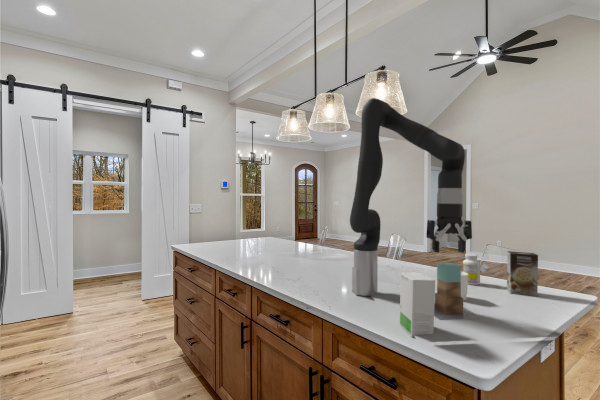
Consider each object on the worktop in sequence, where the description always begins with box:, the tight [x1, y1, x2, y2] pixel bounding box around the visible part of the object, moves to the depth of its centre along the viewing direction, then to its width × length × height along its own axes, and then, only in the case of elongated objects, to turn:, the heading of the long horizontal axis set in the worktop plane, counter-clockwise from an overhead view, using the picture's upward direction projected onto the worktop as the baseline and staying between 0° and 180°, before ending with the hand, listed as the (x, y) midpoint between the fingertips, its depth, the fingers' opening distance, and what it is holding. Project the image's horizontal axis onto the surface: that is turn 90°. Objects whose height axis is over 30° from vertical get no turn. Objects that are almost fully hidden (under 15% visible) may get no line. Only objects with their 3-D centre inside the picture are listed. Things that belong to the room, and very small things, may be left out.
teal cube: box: [436, 262, 462, 282], centre depth 98 cm, size 5×5×5 cm
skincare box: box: [398, 271, 436, 338], centre depth 84 cm, size 8×7×16 cm
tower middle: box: [436, 278, 461, 298], centre depth 98 cm, size 5×5×5 cm
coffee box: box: [506, 250, 539, 297], centre depth 121 cm, size 9×6×16 cm
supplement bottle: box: [462, 253, 481, 286], centre depth 135 cm, size 7×7×13 cm
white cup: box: [461, 271, 469, 301], centre depth 112 cm, size 8×8×10 cm
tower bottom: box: [434, 292, 464, 315], centre depth 98 cm, size 6×6×5 cm
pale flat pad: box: [434, 303, 485, 321], centre depth 98 cm, size 14×14×1 cm
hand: (448, 252), depth 98 cm, fingers open, 8 cm apart
